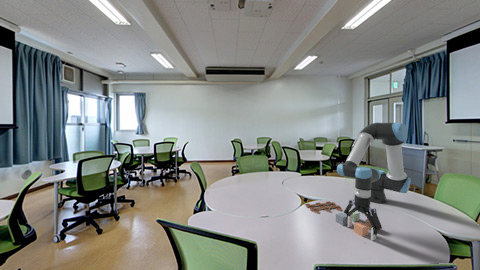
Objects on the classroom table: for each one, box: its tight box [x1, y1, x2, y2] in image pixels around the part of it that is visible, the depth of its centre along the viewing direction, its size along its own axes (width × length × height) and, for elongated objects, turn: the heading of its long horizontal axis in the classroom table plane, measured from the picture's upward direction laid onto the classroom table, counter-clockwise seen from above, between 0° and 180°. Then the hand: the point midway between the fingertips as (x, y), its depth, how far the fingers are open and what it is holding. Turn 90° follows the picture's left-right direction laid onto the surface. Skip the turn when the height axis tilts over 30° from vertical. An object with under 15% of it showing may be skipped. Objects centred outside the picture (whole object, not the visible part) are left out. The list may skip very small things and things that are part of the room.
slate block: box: [335, 212, 348, 227], centre depth 120 cm, size 5×5×5 cm
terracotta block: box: [353, 221, 369, 238], centre depth 109 cm, size 5×5×5 cm
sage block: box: [349, 209, 361, 223], centre depth 124 cm, size 5×5×5 cm
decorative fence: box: [304, 201, 343, 215], centre depth 141 cm, size 23×2×15 cm
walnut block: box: [364, 218, 381, 231], centre depth 113 cm, size 5×5×5 cm
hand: (360, 232), depth 109 cm, fingers open, 13 cm apart
